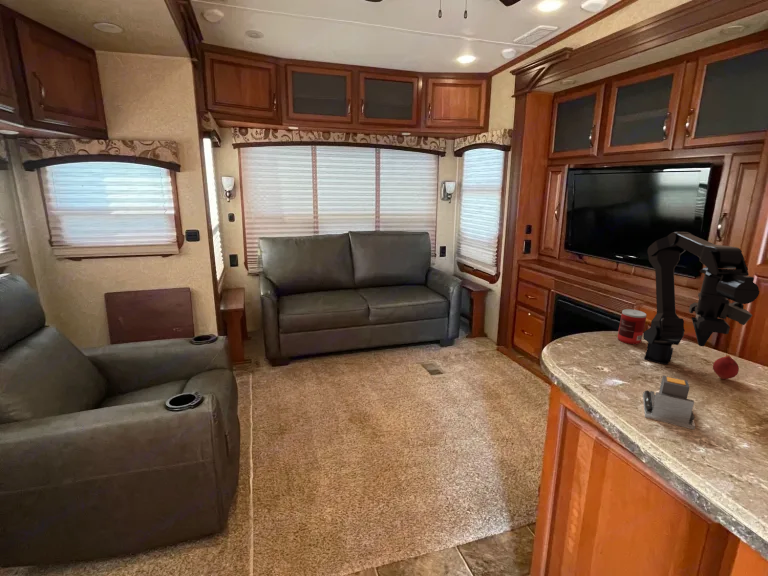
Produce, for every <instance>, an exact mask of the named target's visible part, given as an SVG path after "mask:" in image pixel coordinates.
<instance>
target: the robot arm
mask: <svg viewBox="0 0 768 576" xmlns="http://www.w3.org/2000/svg"><path fill="white" fill-rule="evenodd" d="M686 251H687V252H689V253H691V254H692V255H695V256H697V257H698V258H699V262H701V264H702V265H704V266H705V267H703V268H701V269H700V270H699V272H700V273H701V274H704V277H703V280H702V283H701V289H700V292H698V293H697V297H698V302H693V303H691V304H689V308H688V312H689V314H693V313H695V317H694V316H693V317H691V322H692V325H693V328H694V329H693V330H694V333H695V337H696V342H697V345H698V346H699V347H705V345H706V343H707V342H708V340H709V339H710V337H711V336H712V334H713V333H716V334H724V335H729V332H730V328H731V327H730V325H729V323H728V322H726V319H730V320H733V321H735V322H737V323H738V324H740V325H741V326H745V325H746V324H747V323H748V321H749V320H750V319H751V318H752V317H753V314H752V313H751V312H750V311H748V310H747V309H744V307H745V306H744V305H747V304H751V303H753V302H754V301H756V300H757V298H759V295H760V288H759V286H758V284H757V283H755V282H754V279H755V277H754V276H751V275H750V276H749V268H748V266H747V264H746V261H745V258H744V254H743V253H742V252H743V251H742V250H741V248H739V247H737V246H730V245H724V244H723V245H721V244H715V243H713V242H710V241H707V240H705V239H704V238H700V237H698V236H695V235H694V234H692V233H691V232H688V231H674V232H671V233H669V234H668V235H666V236H664V237H662V238H659V239H657V240H655V241H654V242H652V243H651V244H650V245H649V246H648V247H647V255H648V262H649V263H650V266H652V267H653V269H654V271H655V295H656V296H655V297H656V298H655V299H656V313H655V316H654V317H653V318H652V320H651V323H650V327H649V328H648V329H646V330H645V331H643V335H642V339H643V340H645V342H646V341H647V347H646V351H645V355H644V358H643V359H644V360H647V361H650V362H655V363H658V364H661V365H667V366H668V364H669V362H671V360H672V357H673V352H674V347H672V346H674V345H675V346H678V345H680V343H681V341H682V339H683V337H684V335H685V332H686V331H685V325H684V324H685V320H684V319H683V318H680V317H679V315H678V314H677V313H676V312H677V311H676V292H675V285H676V284H675V268H676V267H677V265H678V263H679V262H680V258H681V255H682V254H683V253H685V252H686ZM730 300H731V301H732V302H730Z"/></svg>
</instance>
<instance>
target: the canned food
mask: <svg viewBox="0 0 768 576" xmlns="http://www.w3.org/2000/svg"><path fill="white" fill-rule="evenodd" d="M621 311H622V312H621V315H620V321H619V327H618V330H617V331H618V333H617V340H618V341H620V342H622V343H623V344H628V345H640V344H641V342H642V340H643V333H644V332H645V331H644V329H645V325H646V322H647V321H646V319H647V313H645V312H644V311H641V310H638V309H629V308H628V309H627V308H626V309H623V310H621Z"/></svg>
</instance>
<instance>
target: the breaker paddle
mask: <svg viewBox="0 0 768 576" xmlns="http://www.w3.org/2000/svg"><path fill="white" fill-rule="evenodd" d="M689 392H690V384H689V382H688V380H686V379H683V378H677V377H673V376H667V375H662V378H661V383H660V388H659V393H663V394H668V395H672V396H676V397H681V398H685V399H688V397H689V396H688V395H689Z"/></svg>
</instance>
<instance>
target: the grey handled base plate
mask: <svg viewBox="0 0 768 576" xmlns="http://www.w3.org/2000/svg"><path fill="white" fill-rule="evenodd" d="M642 400H643V401H642V403H643V412H644V413H643V414H644V418H646V419H651V420H655V421H659V422H663V423H667V424H670V425H673V426H674V425H675V426H678V427H682V428H685V429H690V430H694V431H695V429H696V423H695V421H694V420H695V415H694V412H693V408H694V405H695V401H694V400H693V399H688V398H687V399H685V398H681V397H676V396H672V395H668V394H663V393H659V392H658V391H656V392H655V391H651V390H645V391H644V392H643V393H642Z"/></svg>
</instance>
